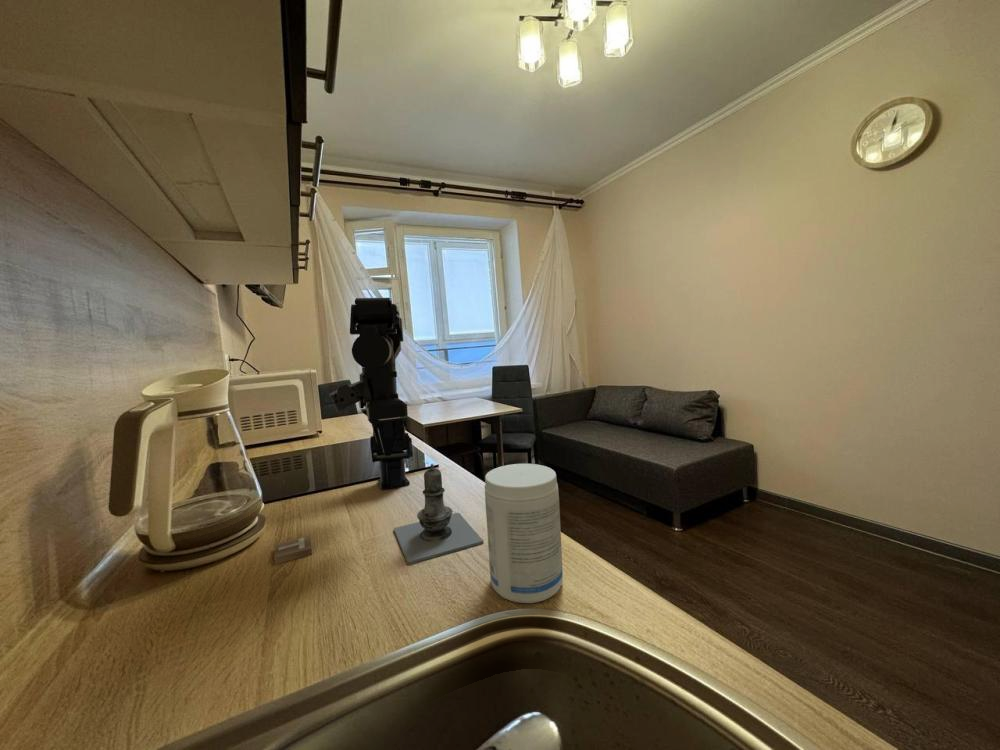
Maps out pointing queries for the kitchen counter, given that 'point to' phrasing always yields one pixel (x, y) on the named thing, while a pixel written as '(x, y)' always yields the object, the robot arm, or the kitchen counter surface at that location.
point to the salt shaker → (434, 509)
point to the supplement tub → (524, 532)
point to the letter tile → (292, 549)
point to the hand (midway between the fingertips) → (383, 449)
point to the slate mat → (424, 550)
